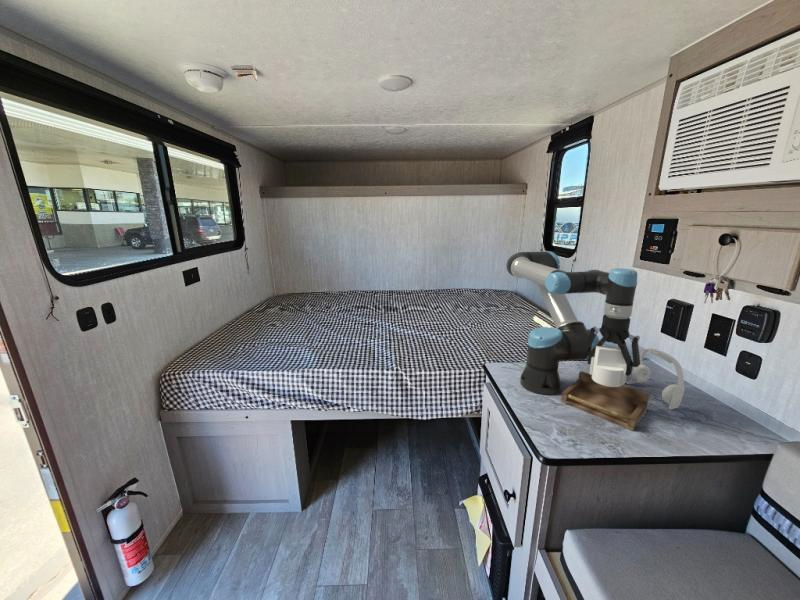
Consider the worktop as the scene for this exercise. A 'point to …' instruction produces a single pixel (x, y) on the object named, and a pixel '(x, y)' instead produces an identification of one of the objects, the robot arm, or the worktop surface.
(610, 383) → the cylinder with rectangular tab
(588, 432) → the worktop surface
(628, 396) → the caddy
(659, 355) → the headset
